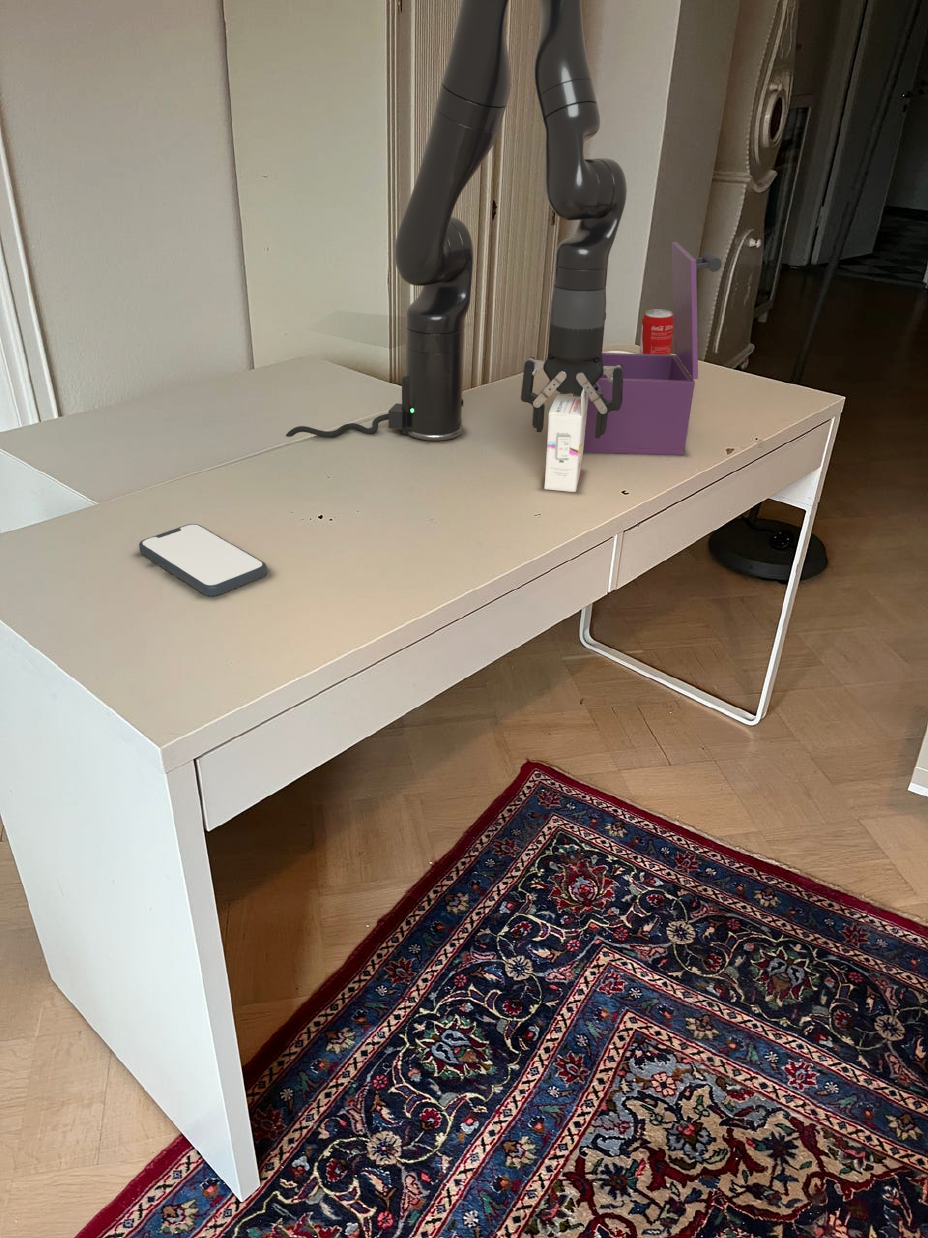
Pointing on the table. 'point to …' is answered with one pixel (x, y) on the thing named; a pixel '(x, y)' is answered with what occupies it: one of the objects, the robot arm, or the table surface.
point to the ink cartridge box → (565, 442)
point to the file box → (644, 407)
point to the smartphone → (203, 559)
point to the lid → (688, 303)
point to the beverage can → (657, 332)
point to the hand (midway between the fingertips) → (568, 433)
